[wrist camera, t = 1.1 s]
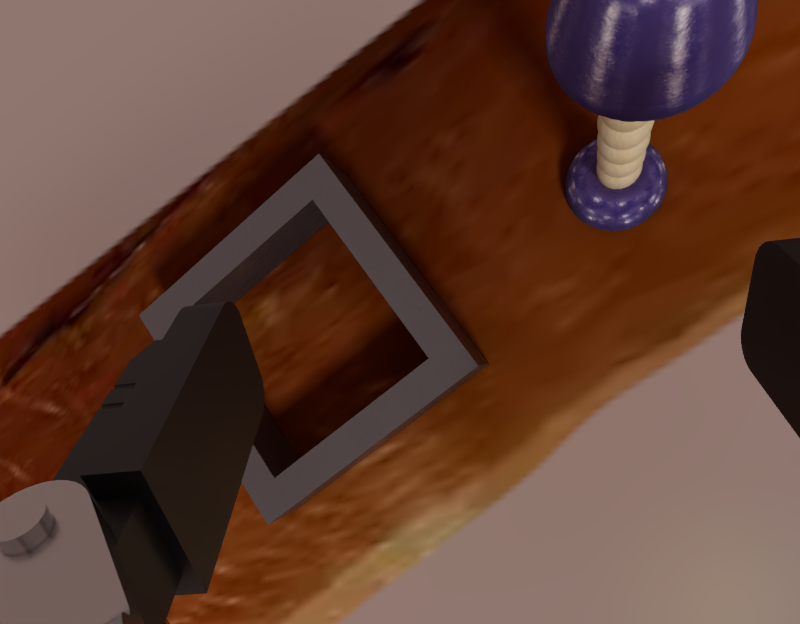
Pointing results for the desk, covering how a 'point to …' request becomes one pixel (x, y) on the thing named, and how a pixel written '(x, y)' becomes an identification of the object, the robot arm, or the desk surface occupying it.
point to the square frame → (393, 276)
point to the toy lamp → (637, 88)
